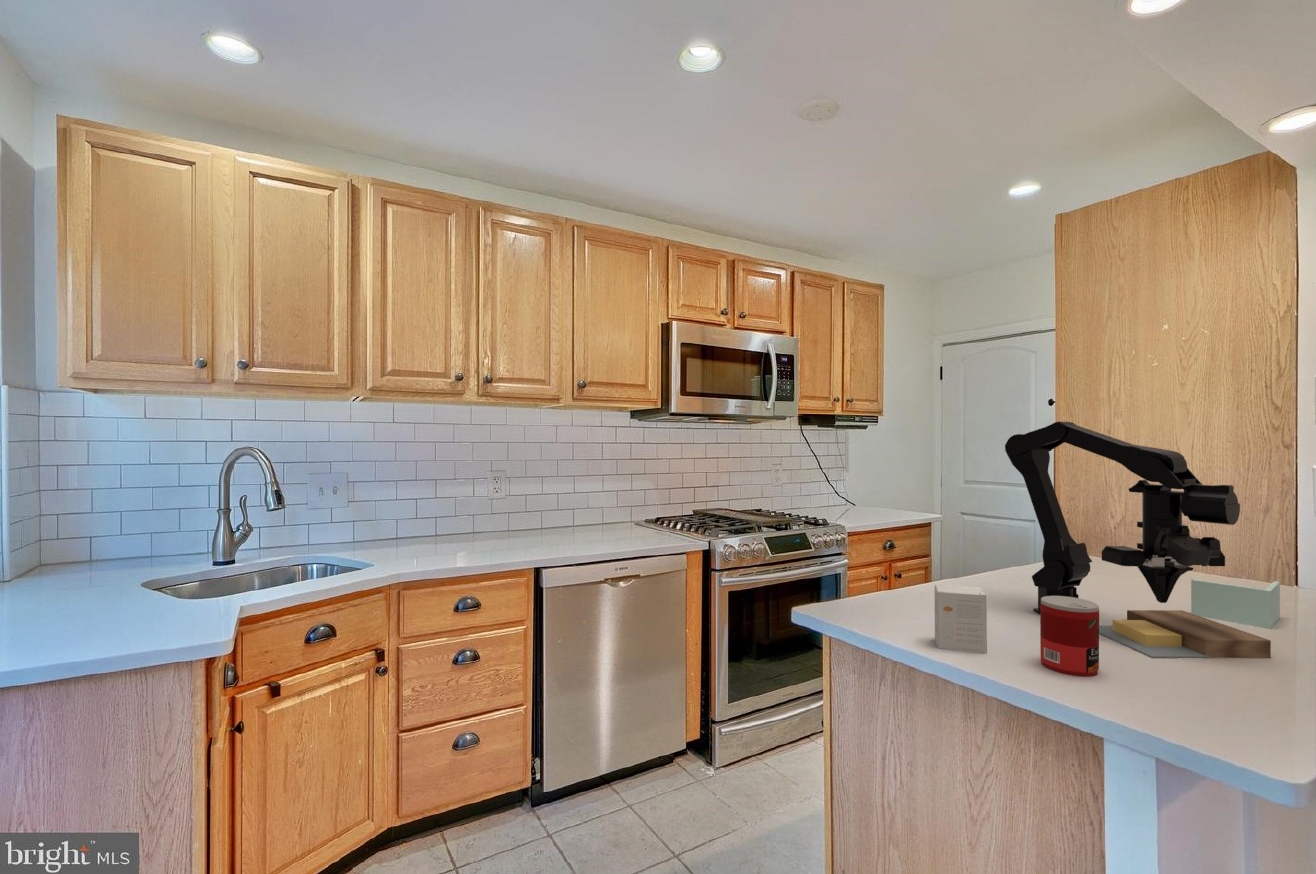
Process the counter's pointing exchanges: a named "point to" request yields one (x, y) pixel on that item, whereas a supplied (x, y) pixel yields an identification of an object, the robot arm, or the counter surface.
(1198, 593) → the right angle wall
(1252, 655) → the brown flat block
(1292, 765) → the counter surface
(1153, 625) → the yellow flat block
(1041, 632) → the canned food
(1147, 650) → the mat
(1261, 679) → the counter surface
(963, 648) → the small box
